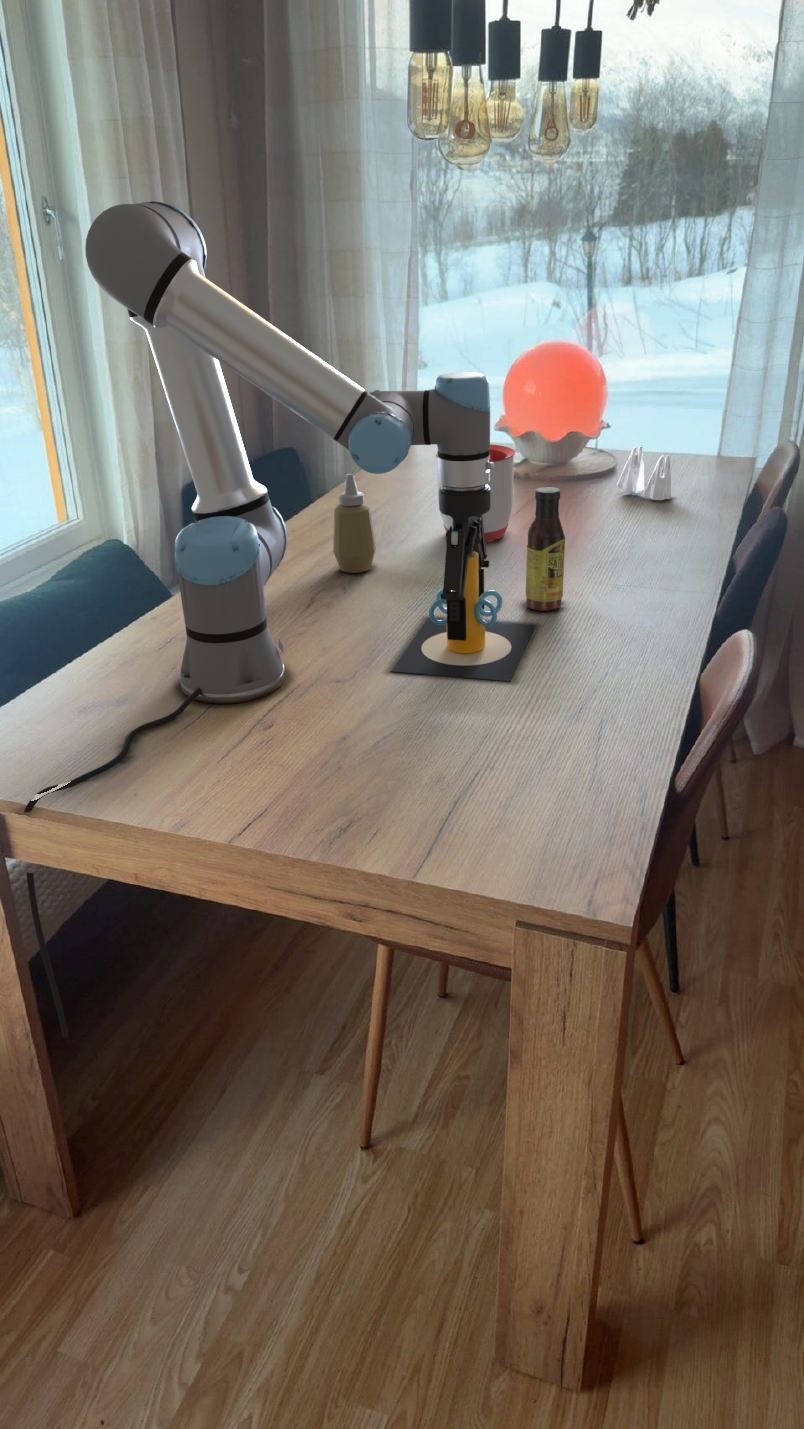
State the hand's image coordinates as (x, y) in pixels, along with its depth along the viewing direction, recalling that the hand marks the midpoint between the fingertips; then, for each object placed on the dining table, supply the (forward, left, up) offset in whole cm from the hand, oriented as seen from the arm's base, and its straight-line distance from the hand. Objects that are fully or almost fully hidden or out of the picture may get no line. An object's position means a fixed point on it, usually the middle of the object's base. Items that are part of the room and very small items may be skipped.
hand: (466, 623), depth 162 cm
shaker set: (+91, -20, -4) cm, 93 cm away
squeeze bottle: (+33, +29, -4) cm, 44 cm away
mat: (0, 0, -4) cm, 4 cm away
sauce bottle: (+20, -9, -4) cm, 22 cm away
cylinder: (0, 0, -4) cm, 4 cm away
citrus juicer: (+56, +11, -4) cm, 57 cm away
